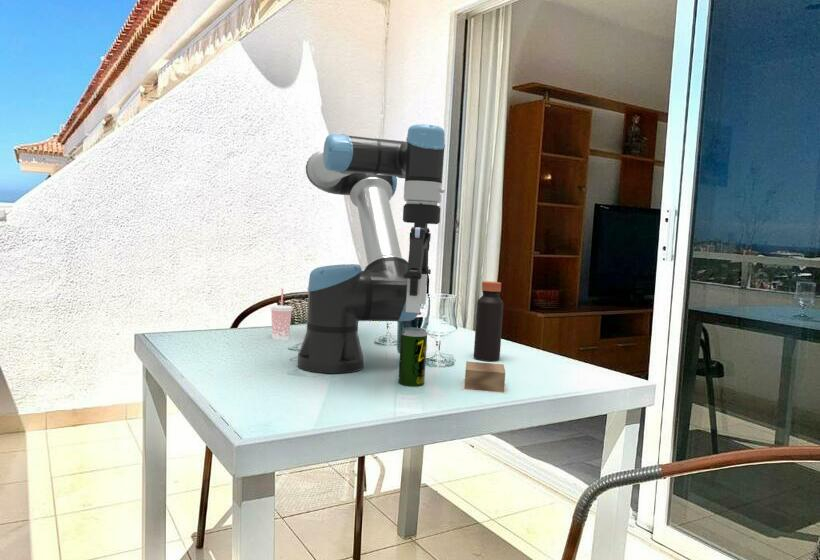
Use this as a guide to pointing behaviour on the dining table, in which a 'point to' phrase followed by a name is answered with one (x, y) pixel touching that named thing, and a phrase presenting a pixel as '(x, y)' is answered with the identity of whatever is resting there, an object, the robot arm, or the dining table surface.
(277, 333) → the beverage cup
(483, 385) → the walnut block
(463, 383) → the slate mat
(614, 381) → the dining table surface
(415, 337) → the beer can
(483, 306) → the bottle
